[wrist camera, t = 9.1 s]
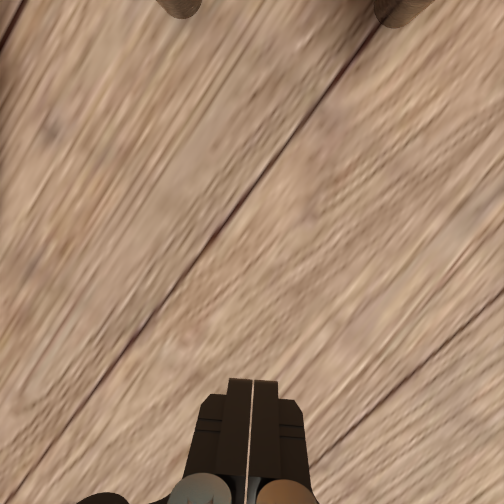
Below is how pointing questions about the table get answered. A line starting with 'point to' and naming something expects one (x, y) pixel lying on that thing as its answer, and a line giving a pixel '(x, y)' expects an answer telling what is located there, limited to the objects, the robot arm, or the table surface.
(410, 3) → the post
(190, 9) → the post
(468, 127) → the table surface
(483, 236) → the table surface
